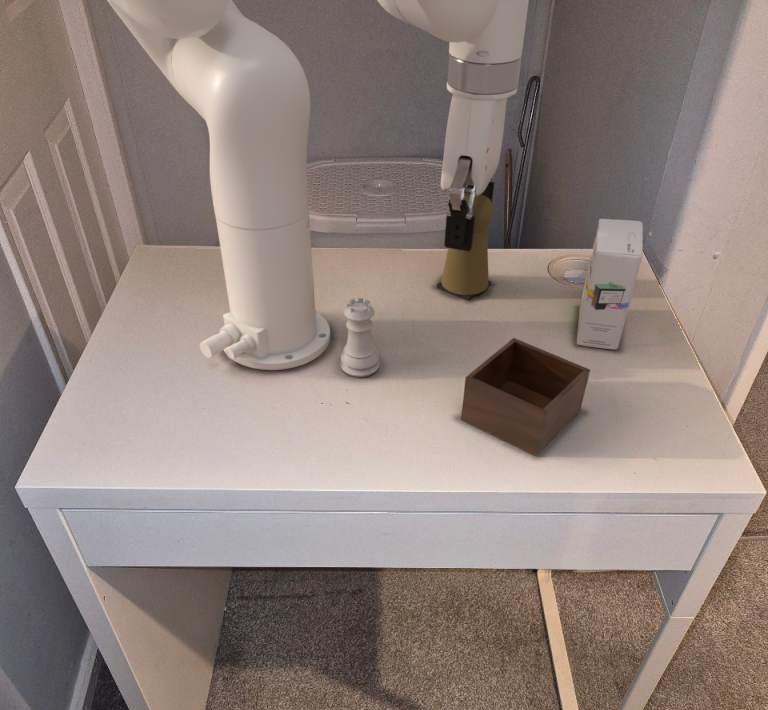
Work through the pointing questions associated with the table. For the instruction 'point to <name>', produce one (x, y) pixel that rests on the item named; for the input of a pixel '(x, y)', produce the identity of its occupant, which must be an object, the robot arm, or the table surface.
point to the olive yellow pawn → (470, 255)
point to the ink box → (610, 282)
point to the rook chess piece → (359, 340)
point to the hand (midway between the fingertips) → (468, 230)
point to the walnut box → (524, 395)
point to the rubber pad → (459, 294)
